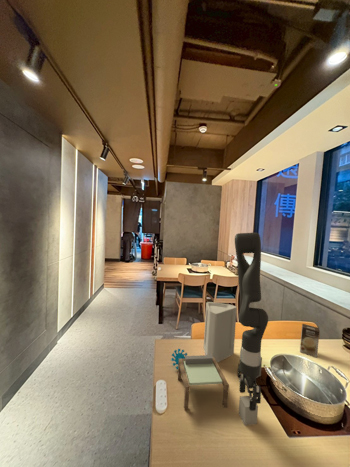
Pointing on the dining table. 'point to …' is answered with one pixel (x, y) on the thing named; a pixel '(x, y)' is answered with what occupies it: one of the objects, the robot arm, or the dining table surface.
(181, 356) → the teal piece
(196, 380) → the trapdoor
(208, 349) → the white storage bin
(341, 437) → the dining table surface
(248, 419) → the small gray block
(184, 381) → the stand
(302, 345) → the coffee box
